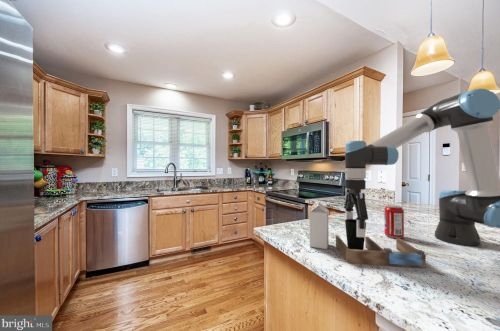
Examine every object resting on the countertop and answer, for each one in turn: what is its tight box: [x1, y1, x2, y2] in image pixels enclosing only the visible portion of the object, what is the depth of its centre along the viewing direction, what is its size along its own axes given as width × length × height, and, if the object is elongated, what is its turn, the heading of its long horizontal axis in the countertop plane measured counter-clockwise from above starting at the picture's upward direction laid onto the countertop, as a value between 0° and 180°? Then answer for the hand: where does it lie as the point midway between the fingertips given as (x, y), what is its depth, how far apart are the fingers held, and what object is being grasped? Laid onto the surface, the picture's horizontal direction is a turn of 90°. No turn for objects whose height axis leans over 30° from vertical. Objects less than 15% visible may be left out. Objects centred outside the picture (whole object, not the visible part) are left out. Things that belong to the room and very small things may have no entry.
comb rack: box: [335, 234, 427, 269], centre depth 80 cm, size 25×17×6 cm
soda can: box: [383, 204, 405, 239], centre depth 101 cm, size 8×8×15 cm
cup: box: [344, 218, 367, 250], centre depth 85 cm, size 8×8×12 cm
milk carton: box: [309, 200, 330, 250], centre depth 90 cm, size 7×7×19 cm
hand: (354, 231), depth 85 cm, fingers open, 13 cm apart
